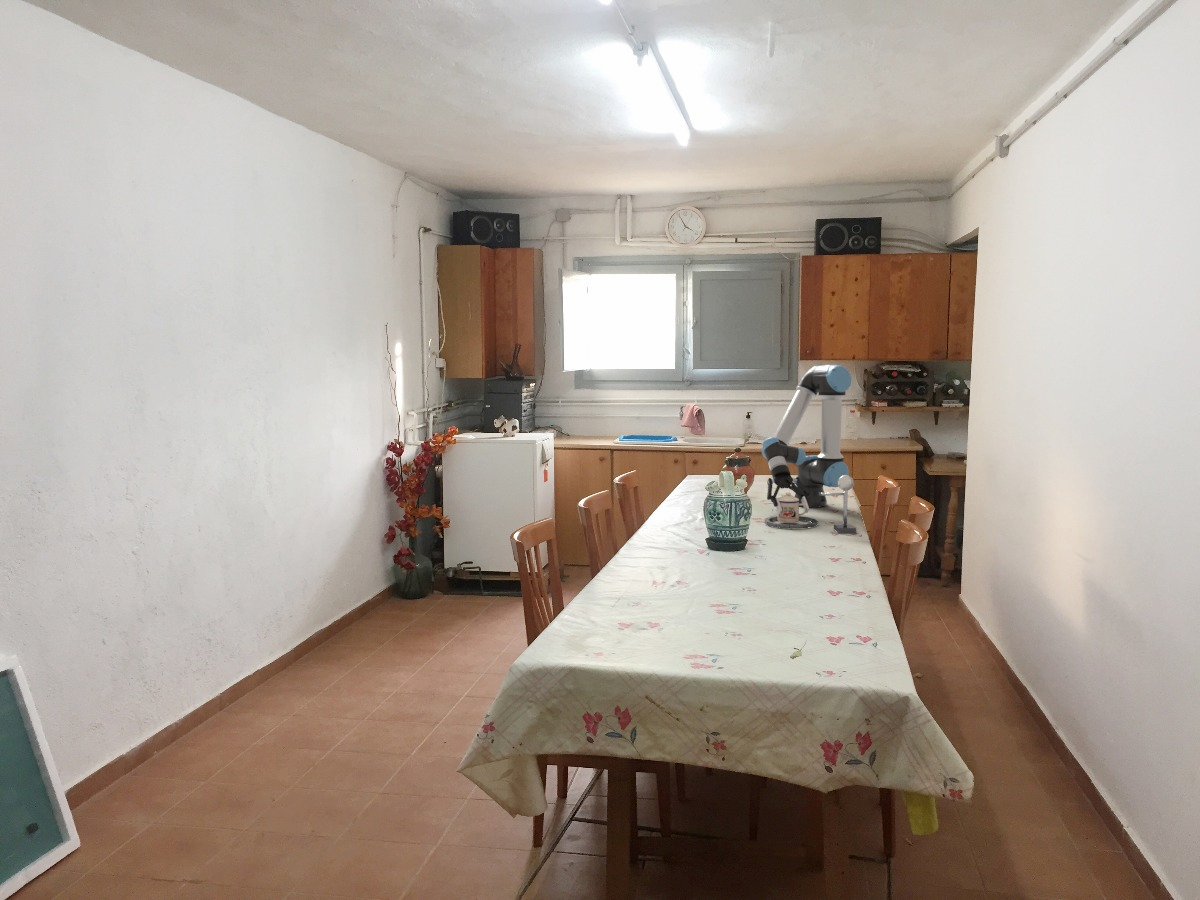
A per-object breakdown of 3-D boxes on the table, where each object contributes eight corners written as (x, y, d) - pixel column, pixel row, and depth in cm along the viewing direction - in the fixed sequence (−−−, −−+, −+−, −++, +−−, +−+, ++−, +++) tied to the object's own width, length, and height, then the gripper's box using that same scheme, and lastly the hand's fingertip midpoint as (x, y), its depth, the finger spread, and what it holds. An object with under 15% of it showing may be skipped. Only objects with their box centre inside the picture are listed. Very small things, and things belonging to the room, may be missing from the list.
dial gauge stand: (851, 529, 361) (852, 473, 359) (856, 533, 354) (857, 476, 352) (816, 529, 361) (816, 474, 359) (820, 533, 354) (821, 476, 352)
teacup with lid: (775, 522, 371) (776, 494, 369) (777, 518, 380) (777, 490, 378) (805, 523, 368) (806, 495, 366) (806, 519, 376) (807, 491, 375)
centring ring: (810, 518, 384) (810, 515, 384) (822, 528, 363) (822, 525, 363) (761, 519, 384) (761, 515, 384) (770, 529, 363) (770, 525, 363)
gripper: (802, 473, 389) (817, 515, 376) (750, 475, 384) (764, 518, 371) (807, 462, 383) (823, 505, 370) (755, 465, 378) (769, 507, 365)
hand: (794, 511), depth 370 cm, fingers closed on teacup with lid, 11 cm apart
